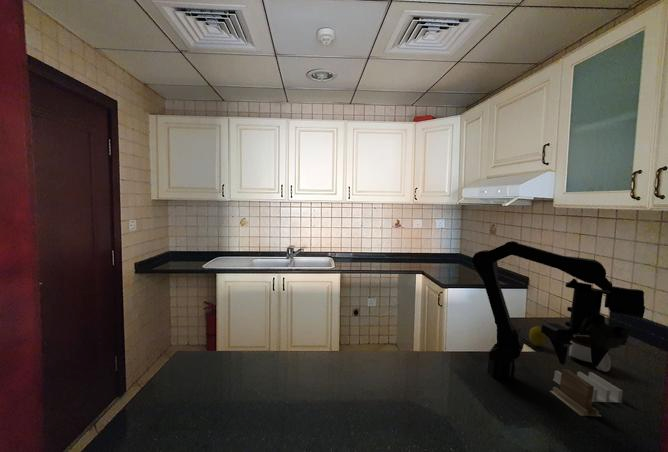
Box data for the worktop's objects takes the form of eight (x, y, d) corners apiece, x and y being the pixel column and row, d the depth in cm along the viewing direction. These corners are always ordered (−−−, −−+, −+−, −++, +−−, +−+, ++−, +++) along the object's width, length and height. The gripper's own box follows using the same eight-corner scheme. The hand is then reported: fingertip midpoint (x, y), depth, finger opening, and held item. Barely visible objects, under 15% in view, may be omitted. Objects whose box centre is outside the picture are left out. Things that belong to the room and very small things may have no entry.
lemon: (547, 350, 112) (550, 329, 112) (531, 348, 113) (534, 327, 113) (540, 344, 118) (543, 324, 117) (525, 341, 119) (527, 322, 118)
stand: (580, 418, 74) (581, 410, 74) (549, 393, 84) (550, 386, 84) (601, 419, 74) (602, 411, 74) (568, 394, 84) (568, 387, 84)
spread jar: (570, 352, 112) (573, 322, 112) (610, 364, 104) (615, 332, 104) (565, 362, 104) (569, 329, 103) (609, 376, 96) (613, 341, 95)
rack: (581, 403, 80) (582, 390, 80) (552, 381, 90) (553, 369, 90) (622, 405, 81) (624, 391, 80) (589, 383, 91) (591, 371, 90)
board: (584, 412, 75) (587, 386, 74) (559, 393, 83) (562, 369, 82) (590, 413, 75) (593, 386, 74) (564, 393, 83) (567, 369, 82)
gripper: (579, 316, 69) (570, 381, 70) (653, 321, 70) (644, 384, 71) (543, 301, 80) (536, 357, 81) (607, 305, 81) (600, 360, 82)
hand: (578, 364), depth 78 cm, fingers open, 9 cm apart
